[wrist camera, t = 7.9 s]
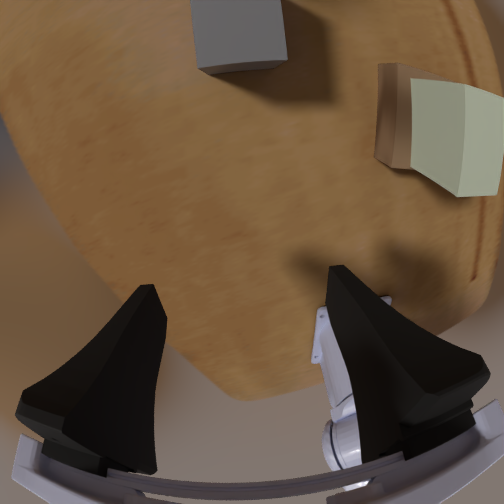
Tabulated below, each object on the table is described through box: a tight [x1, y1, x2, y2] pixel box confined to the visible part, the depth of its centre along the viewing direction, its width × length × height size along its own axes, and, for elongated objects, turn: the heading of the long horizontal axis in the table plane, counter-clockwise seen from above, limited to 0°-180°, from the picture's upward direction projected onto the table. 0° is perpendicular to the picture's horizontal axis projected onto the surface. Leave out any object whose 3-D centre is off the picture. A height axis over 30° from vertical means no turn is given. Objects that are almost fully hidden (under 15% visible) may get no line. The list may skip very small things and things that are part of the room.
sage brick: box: [410, 78, 504, 197], centre depth 11 cm, size 6×4×5 cm, turn 8°
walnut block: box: [374, 63, 457, 170], centre depth 14 cm, size 7×7×3 cm
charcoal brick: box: [190, 0, 288, 75], centre depth 10 cm, size 6×4×5 cm, turn 6°
